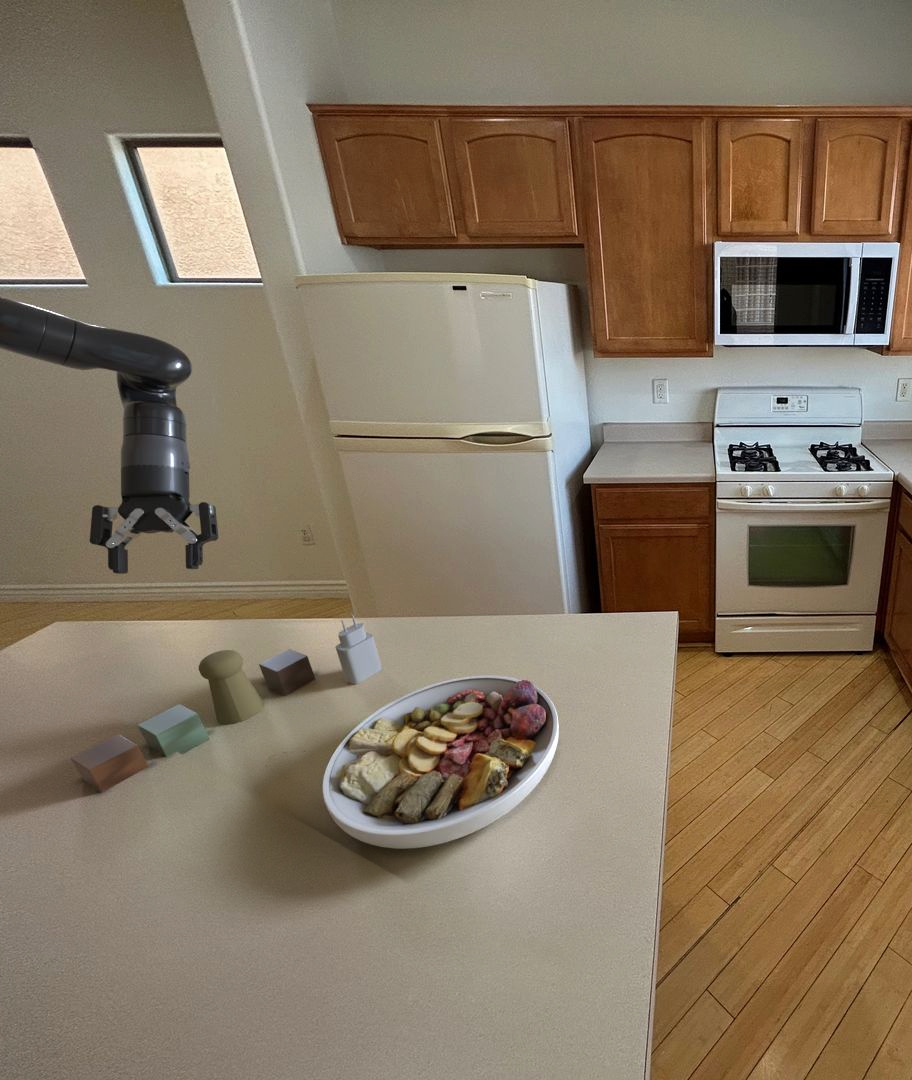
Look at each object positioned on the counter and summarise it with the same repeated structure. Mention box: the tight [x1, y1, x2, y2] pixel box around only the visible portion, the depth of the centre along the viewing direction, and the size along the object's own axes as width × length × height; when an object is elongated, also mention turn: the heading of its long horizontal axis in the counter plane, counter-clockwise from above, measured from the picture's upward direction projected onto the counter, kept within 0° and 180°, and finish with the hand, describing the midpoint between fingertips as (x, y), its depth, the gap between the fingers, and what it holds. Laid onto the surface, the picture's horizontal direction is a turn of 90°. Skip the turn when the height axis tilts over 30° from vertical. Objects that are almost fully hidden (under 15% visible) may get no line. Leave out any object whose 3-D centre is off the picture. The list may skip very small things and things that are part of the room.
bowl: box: [321, 675, 560, 850], centre depth 79 cm, size 30×30×8 cm
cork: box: [198, 649, 265, 725], centre depth 88 cm, size 6×6×11 cm
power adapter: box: [334, 614, 383, 685], centre depth 97 cm, size 3×5×12 cm, turn 156°
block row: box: [70, 648, 316, 793], centre depth 86 cm, size 28×5×5 cm, turn 156°
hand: (157, 571), depth 85 cm, fingers open, 8 cm apart
